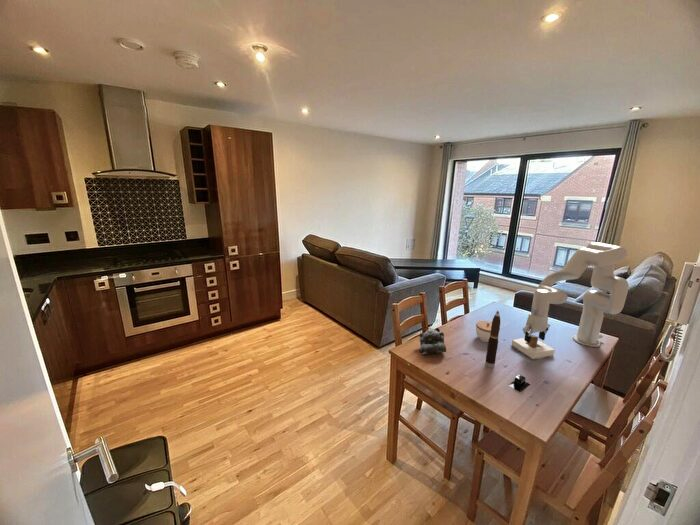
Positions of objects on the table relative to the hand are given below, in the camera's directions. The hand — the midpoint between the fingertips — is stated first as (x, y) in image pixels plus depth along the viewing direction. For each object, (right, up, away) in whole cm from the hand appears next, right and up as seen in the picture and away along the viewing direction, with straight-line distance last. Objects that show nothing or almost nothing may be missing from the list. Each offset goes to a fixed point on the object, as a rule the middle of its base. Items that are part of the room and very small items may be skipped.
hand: (534, 340), depth 157 cm
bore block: (0, -6, +2) cm, 7 cm away
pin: (-1, -6, +1) cm, 6 cm away
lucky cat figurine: (-57, -7, +1) cm, 57 cm away
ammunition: (-30, -10, -11) cm, 33 cm away
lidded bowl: (-20, -3, +14) cm, 25 cm away
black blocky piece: (-24, -14, -25) cm, 37 cm away
